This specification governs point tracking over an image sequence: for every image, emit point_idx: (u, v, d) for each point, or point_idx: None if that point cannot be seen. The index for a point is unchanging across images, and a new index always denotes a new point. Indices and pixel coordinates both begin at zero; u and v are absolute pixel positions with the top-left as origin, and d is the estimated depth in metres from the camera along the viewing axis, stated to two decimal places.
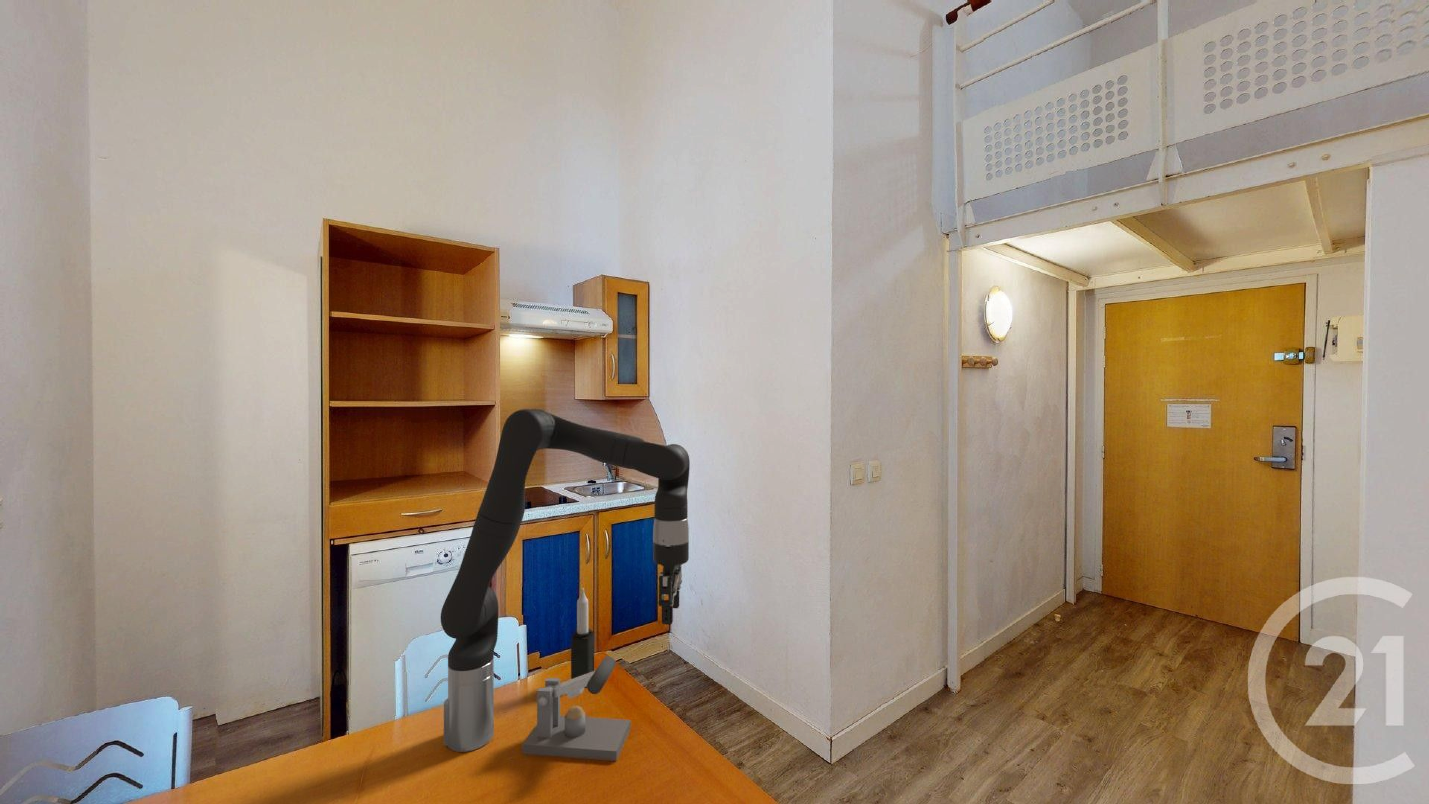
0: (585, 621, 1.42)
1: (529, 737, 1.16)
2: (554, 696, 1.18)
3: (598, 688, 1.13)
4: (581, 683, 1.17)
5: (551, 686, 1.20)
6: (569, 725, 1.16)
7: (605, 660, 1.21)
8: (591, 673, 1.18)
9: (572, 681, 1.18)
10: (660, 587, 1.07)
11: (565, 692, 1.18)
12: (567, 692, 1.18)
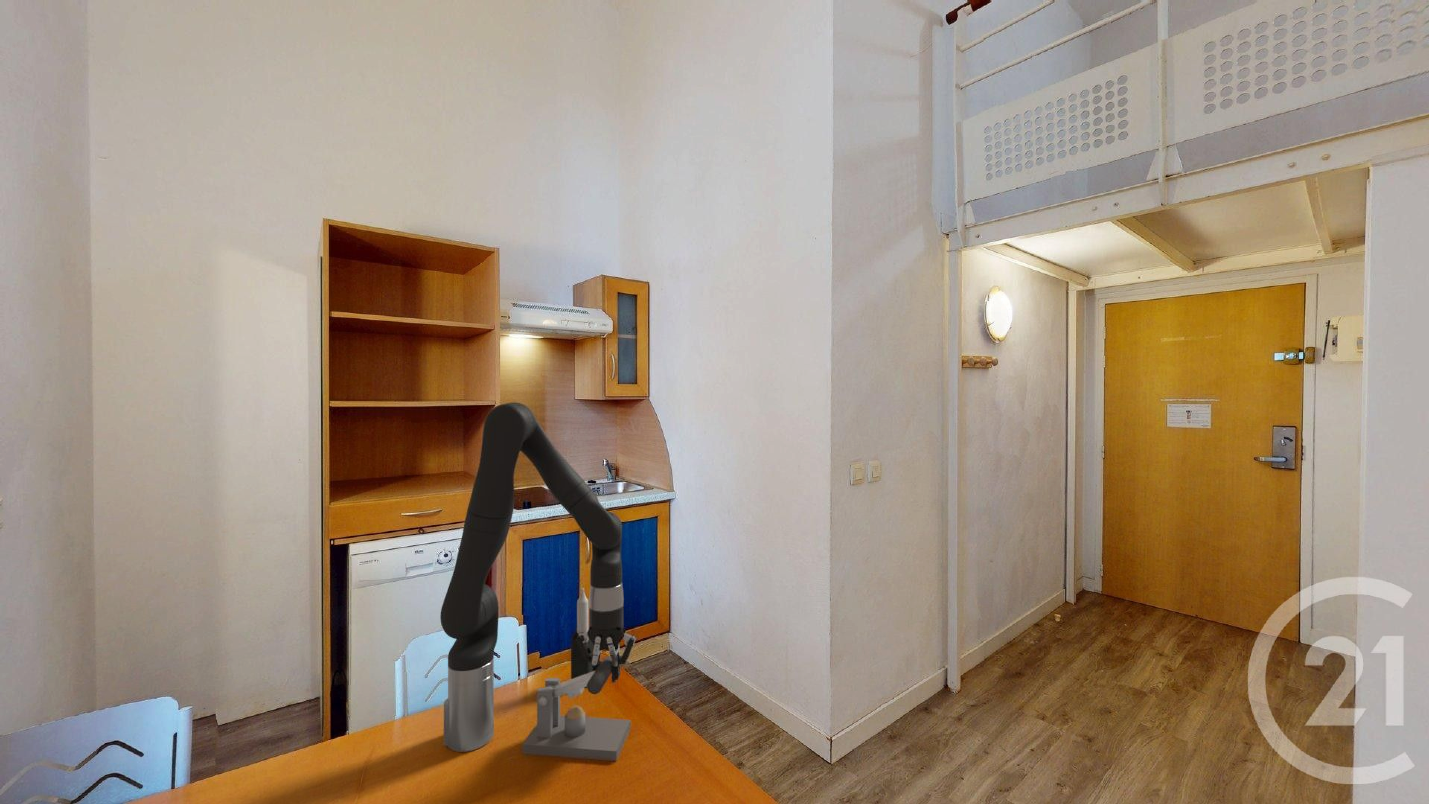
0: (585, 621, 1.42)
1: (529, 737, 1.16)
2: (554, 696, 1.18)
3: (598, 688, 1.13)
4: (581, 683, 1.17)
5: (551, 686, 1.20)
6: (569, 725, 1.16)
7: (605, 660, 1.21)
8: (591, 673, 1.18)
9: (572, 681, 1.18)
10: (631, 648, 1.19)
11: (565, 692, 1.18)
12: (567, 692, 1.18)
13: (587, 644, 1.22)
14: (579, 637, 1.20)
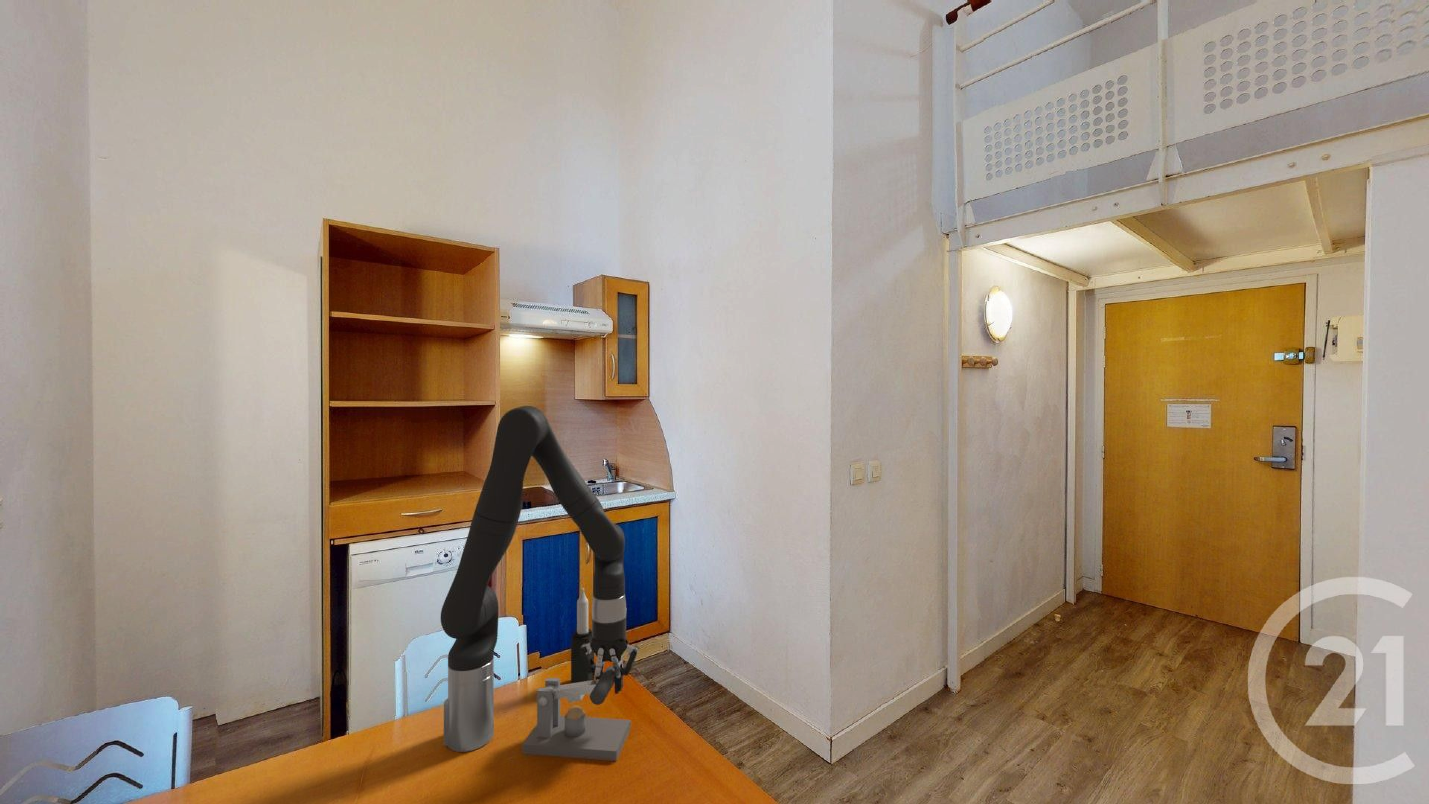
0: (585, 621, 1.42)
1: (529, 737, 1.16)
2: (554, 697, 1.18)
3: (601, 700, 1.13)
4: (583, 690, 1.17)
5: (552, 686, 1.20)
6: (569, 725, 1.16)
7: (609, 670, 1.21)
8: (594, 681, 1.18)
9: (574, 686, 1.18)
10: (634, 660, 1.19)
11: (566, 696, 1.17)
12: (568, 696, 1.17)
13: (590, 655, 1.22)
14: (582, 648, 1.20)
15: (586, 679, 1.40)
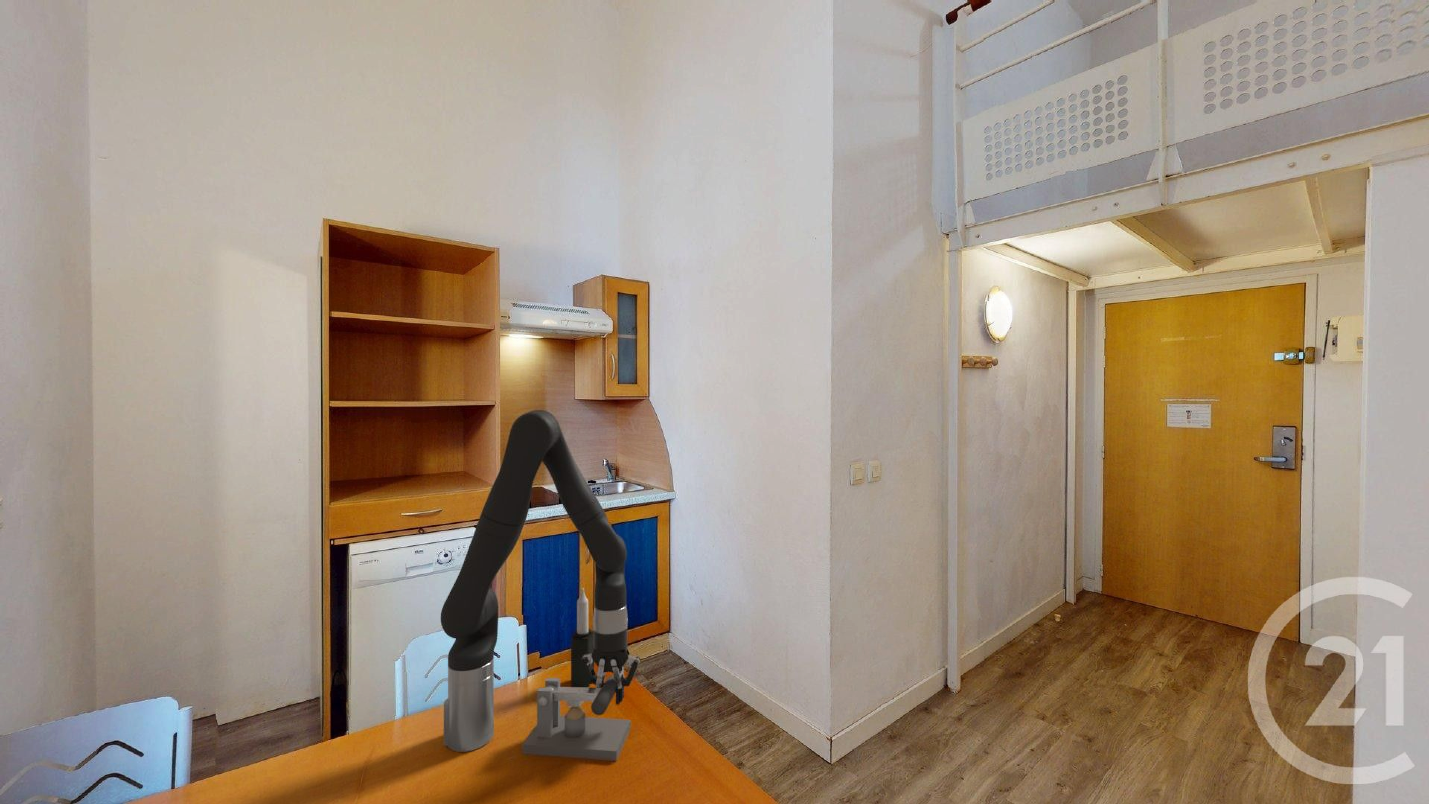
0: (585, 620, 1.42)
1: (529, 737, 1.16)
2: (554, 699, 1.18)
3: (601, 711, 1.13)
4: (584, 697, 1.17)
5: (553, 687, 1.19)
6: (569, 725, 1.16)
7: (611, 680, 1.21)
8: (596, 689, 1.18)
9: (575, 691, 1.18)
10: (635, 671, 1.19)
11: (566, 699, 1.17)
12: (567, 700, 1.17)
13: (591, 666, 1.22)
14: (583, 659, 1.20)
15: (586, 679, 1.40)
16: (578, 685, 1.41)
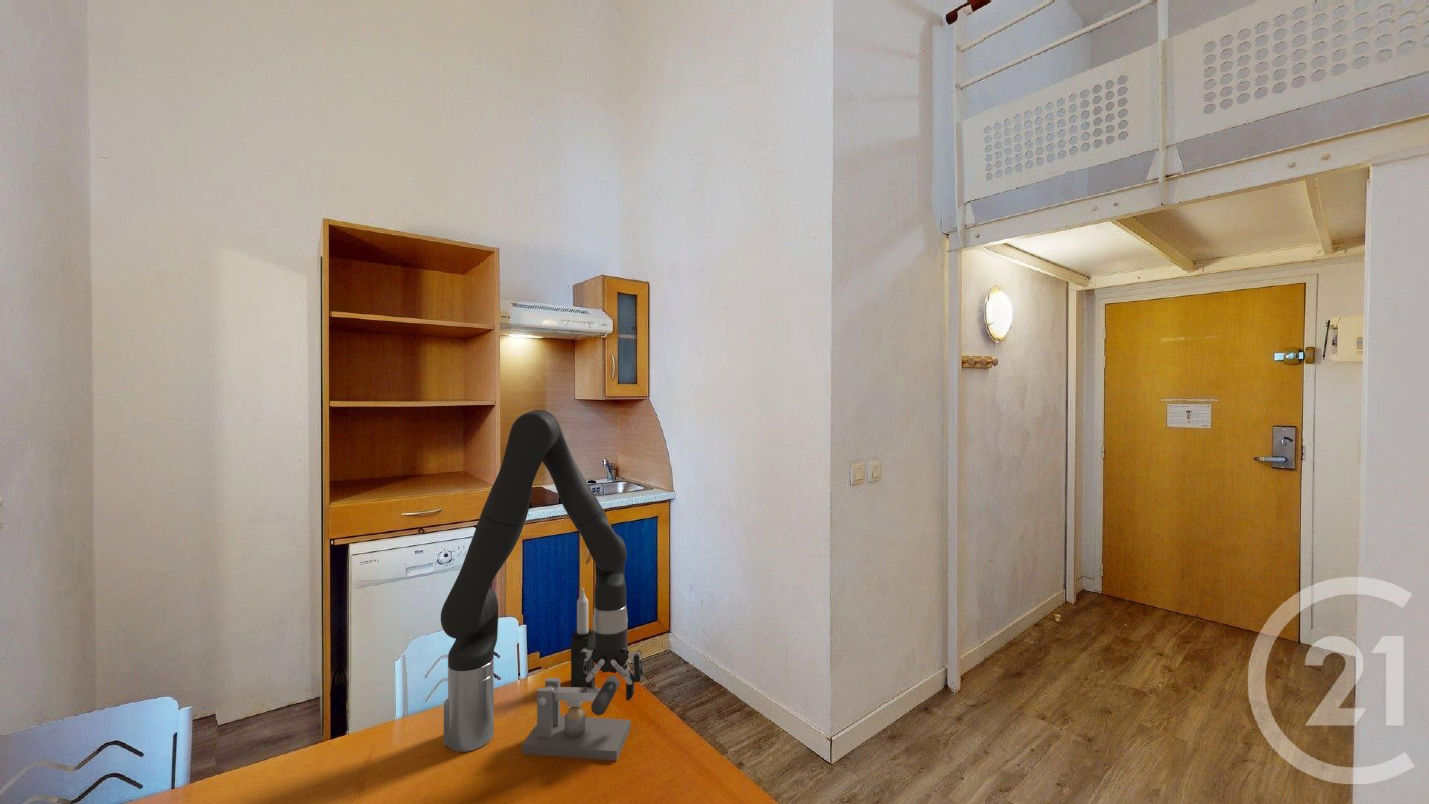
0: (585, 620, 1.42)
1: (529, 737, 1.16)
2: (554, 699, 1.18)
3: (601, 711, 1.13)
4: (584, 697, 1.17)
5: (553, 687, 1.19)
6: (569, 725, 1.16)
7: (611, 680, 1.21)
8: (596, 690, 1.18)
9: (575, 691, 1.18)
10: (639, 664, 1.19)
11: (566, 699, 1.17)
12: (567, 700, 1.17)
13: (586, 661, 1.22)
14: (583, 653, 1.20)
15: None
16: (578, 685, 1.41)
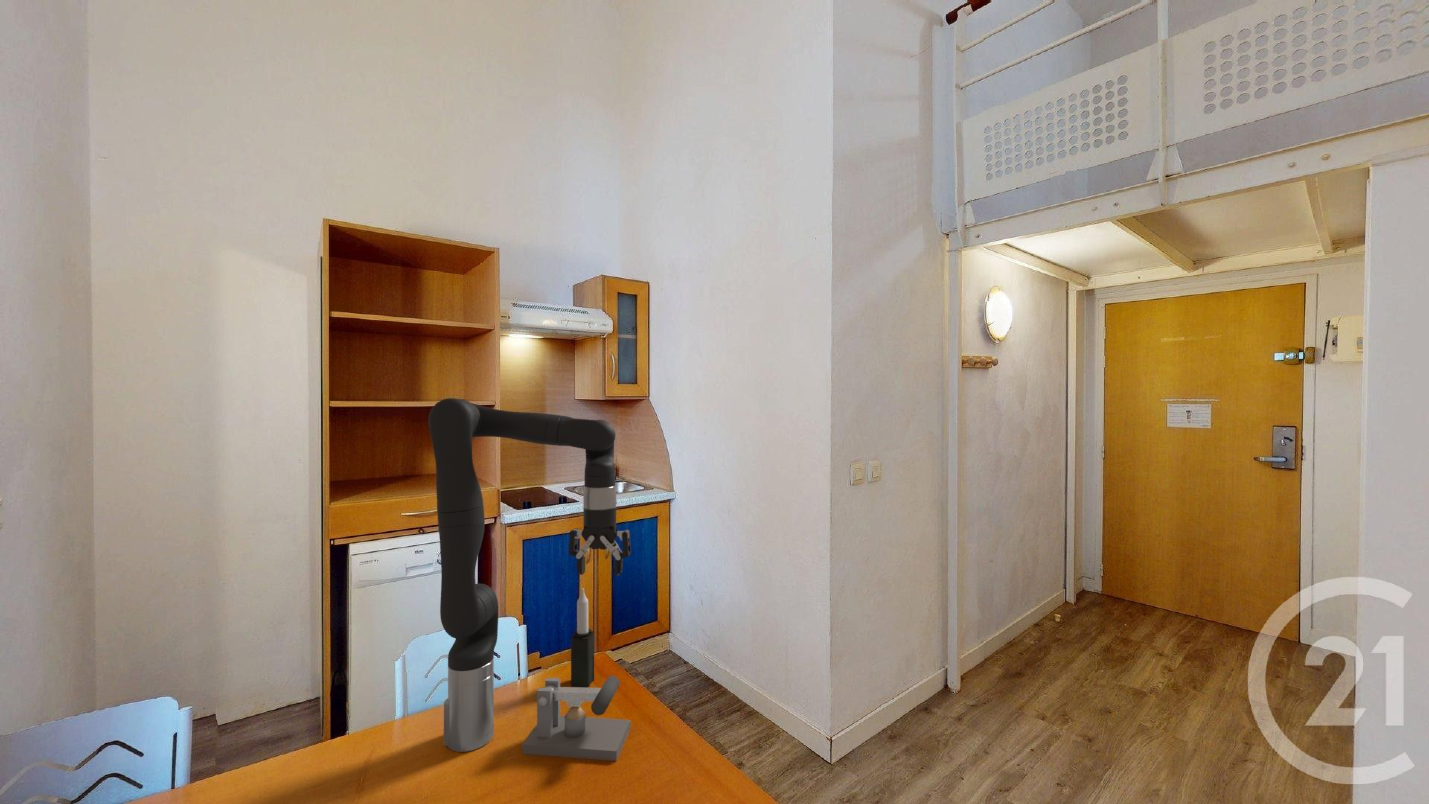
0: (585, 621, 1.42)
1: (529, 737, 1.16)
2: (554, 699, 1.18)
3: (601, 711, 1.13)
4: (584, 697, 1.17)
5: (553, 687, 1.19)
6: (569, 725, 1.16)
7: (611, 680, 1.21)
8: (596, 690, 1.18)
9: (575, 691, 1.18)
10: (627, 540, 1.24)
11: (566, 699, 1.17)
12: (567, 700, 1.17)
13: (576, 541, 1.27)
14: (573, 531, 1.26)
15: (586, 679, 1.40)
16: (578, 685, 1.41)
